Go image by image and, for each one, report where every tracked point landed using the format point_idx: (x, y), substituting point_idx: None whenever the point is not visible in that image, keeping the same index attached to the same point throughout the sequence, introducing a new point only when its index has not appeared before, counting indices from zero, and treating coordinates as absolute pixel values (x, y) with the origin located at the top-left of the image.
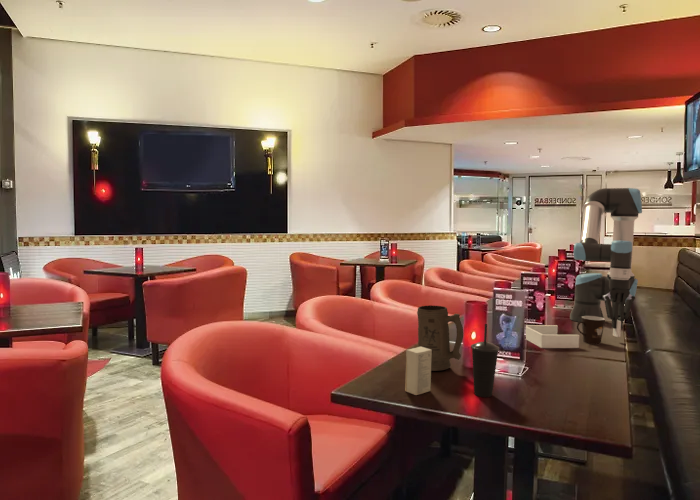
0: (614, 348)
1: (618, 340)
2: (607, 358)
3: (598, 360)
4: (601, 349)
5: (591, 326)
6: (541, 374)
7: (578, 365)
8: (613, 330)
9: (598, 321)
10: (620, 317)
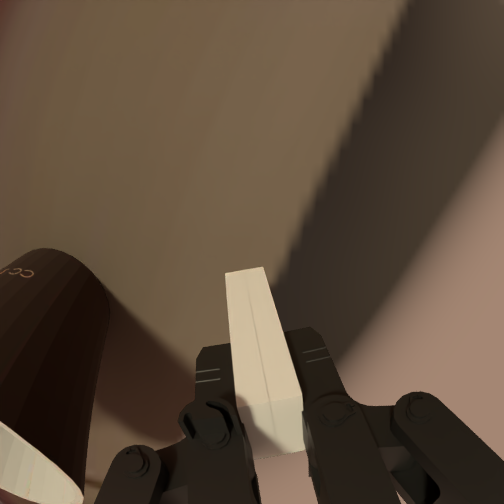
0: (167, 408)
1: (302, 194)
2: None
3: (86, 489)
4: (98, 422)
5: (6, 438)
6: (10, 500)
7: None
8: (229, 311)
9: (37, 493)
10: (314, 484)
